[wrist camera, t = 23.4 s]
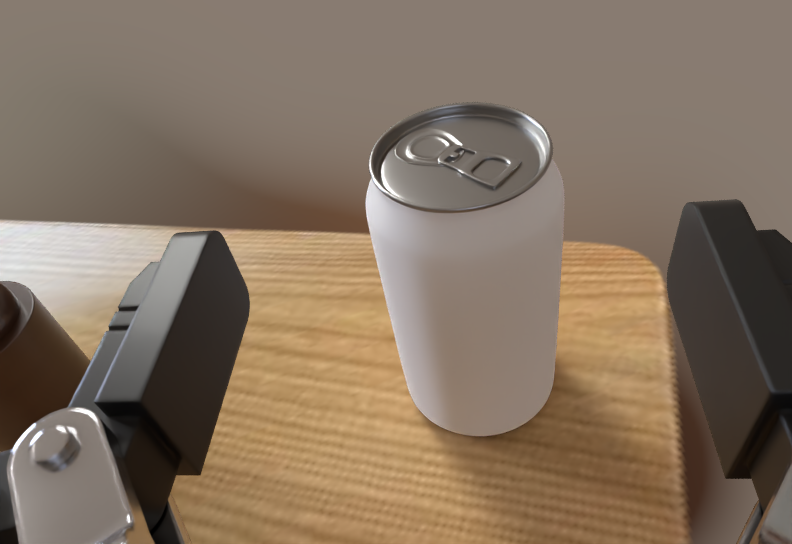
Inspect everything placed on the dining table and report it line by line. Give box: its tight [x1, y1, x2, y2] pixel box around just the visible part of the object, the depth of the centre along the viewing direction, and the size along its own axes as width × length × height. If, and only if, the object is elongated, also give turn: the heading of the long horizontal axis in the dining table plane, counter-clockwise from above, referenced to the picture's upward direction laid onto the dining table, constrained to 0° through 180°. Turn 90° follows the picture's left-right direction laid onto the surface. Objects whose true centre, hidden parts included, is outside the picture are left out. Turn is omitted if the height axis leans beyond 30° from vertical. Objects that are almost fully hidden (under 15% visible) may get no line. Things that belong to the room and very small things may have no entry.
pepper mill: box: [0, 281, 91, 452], centre depth 24 cm, size 5×5×11 cm
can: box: [366, 102, 564, 436], centre depth 23 cm, size 6×6×12 cm
